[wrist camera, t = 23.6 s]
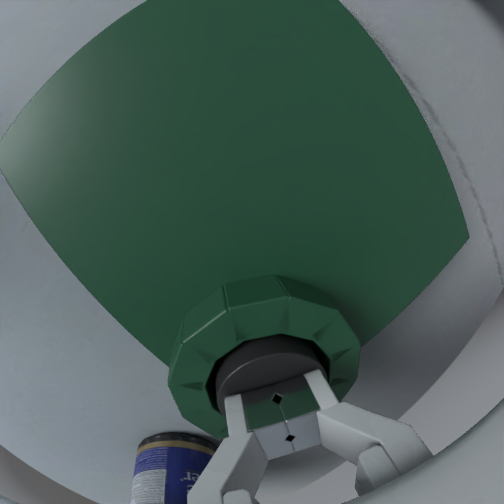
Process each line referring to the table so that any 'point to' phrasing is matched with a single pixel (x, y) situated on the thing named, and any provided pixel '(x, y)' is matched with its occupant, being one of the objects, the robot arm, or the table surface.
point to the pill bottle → (169, 467)
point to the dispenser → (237, 184)
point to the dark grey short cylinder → (262, 365)
